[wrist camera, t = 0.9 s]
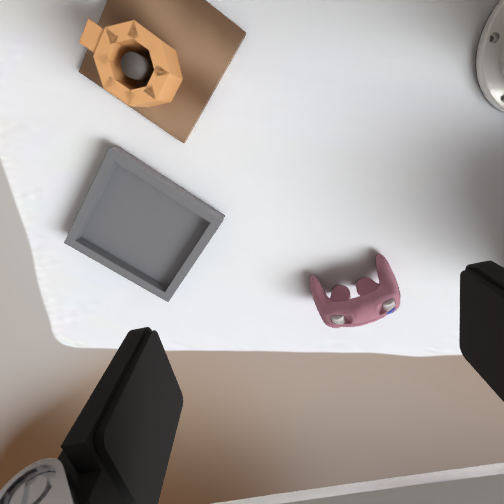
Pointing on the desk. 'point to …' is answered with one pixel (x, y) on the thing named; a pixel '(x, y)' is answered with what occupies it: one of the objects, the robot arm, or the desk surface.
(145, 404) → the robot arm
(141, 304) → the desk surface
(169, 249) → the tray
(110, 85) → the collar
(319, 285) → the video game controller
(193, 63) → the base
